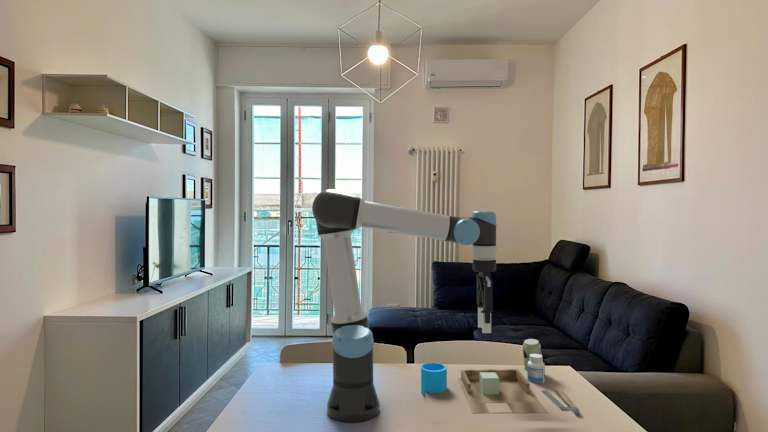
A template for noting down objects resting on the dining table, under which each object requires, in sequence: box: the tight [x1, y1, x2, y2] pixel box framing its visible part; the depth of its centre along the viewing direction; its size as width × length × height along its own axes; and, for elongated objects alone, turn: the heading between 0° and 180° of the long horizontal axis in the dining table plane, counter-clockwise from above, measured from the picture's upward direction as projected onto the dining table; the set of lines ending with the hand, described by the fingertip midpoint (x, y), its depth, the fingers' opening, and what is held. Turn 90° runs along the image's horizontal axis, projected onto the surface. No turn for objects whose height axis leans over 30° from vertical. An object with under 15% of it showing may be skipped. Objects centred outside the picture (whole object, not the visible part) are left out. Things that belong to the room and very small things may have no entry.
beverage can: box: [522, 338, 542, 372], centre depth 165 cm, size 6×7×12 cm
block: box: [479, 372, 499, 394], centre depth 146 cm, size 5×5×5 cm
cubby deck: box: [457, 368, 549, 414], centre depth 144 cm, size 21×26×4 cm
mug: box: [420, 362, 448, 397], centre depth 151 cm, size 12×8×8 cm
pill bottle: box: [527, 354, 546, 384], centre depth 155 cm, size 6×5×10 cm
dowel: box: [557, 390, 577, 407], centre depth 140 cm, size 2×12×2 cm, turn 179°
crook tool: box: [541, 390, 580, 416], centre depth 139 cm, size 5×14×2 cm, turn 5°
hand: (484, 329), depth 152 cm, fingers open, 6 cm apart
